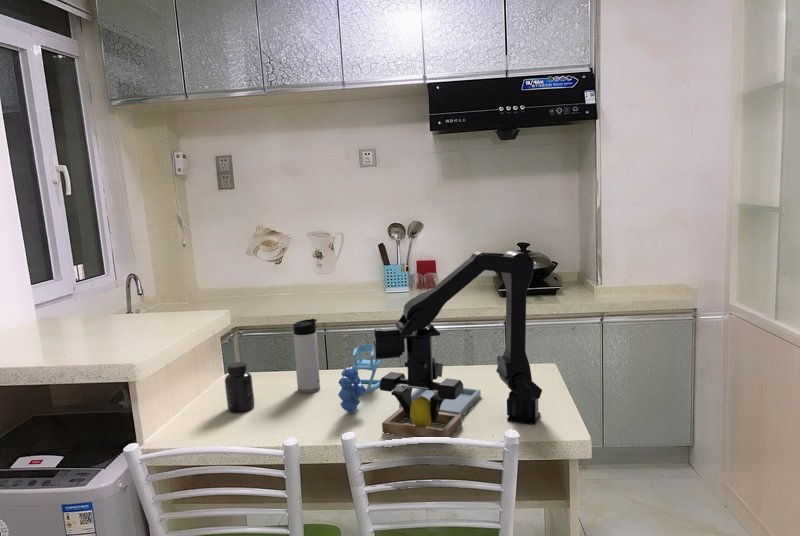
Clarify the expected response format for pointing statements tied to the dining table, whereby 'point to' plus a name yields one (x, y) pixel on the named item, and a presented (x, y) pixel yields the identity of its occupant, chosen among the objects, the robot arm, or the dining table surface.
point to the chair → (366, 366)
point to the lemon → (421, 412)
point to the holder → (404, 430)
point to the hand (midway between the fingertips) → (422, 420)
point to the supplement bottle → (239, 388)
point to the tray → (451, 406)
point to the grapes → (350, 389)
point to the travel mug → (306, 356)
